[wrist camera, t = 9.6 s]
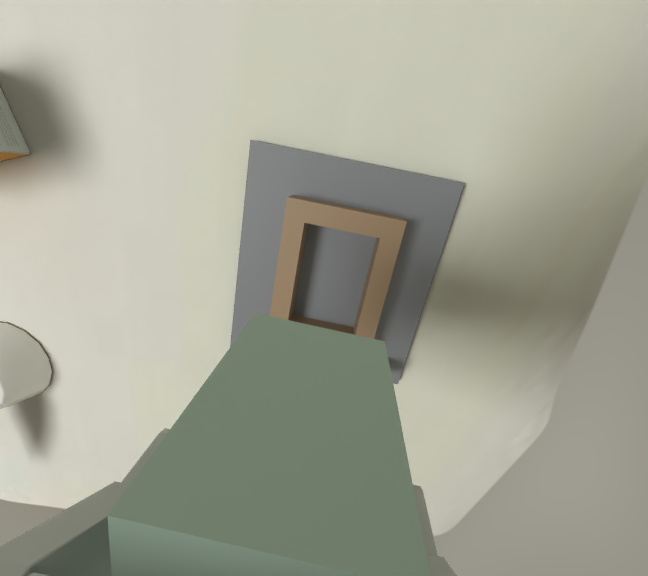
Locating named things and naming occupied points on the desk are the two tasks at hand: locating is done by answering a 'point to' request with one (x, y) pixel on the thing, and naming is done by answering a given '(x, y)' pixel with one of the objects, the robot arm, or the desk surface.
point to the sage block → (278, 468)
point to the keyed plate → (340, 244)
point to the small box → (10, 133)
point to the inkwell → (21, 366)
